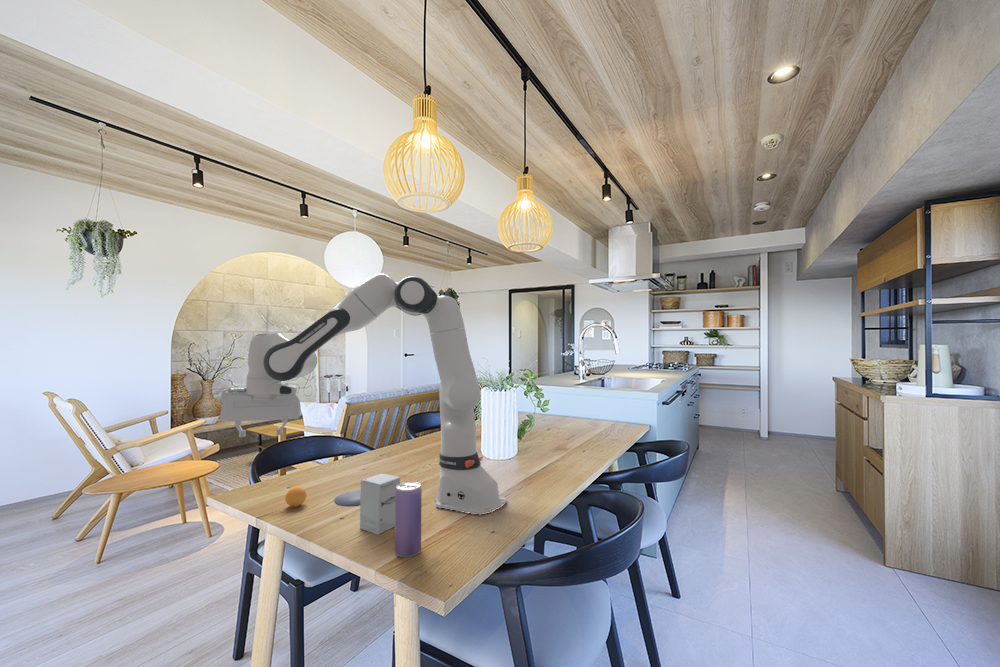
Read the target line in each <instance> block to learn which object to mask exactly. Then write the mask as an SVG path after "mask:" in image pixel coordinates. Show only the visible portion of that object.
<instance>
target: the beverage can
mask: <svg viewBox="0 0 1000 667" xmlns="http://www.w3.org/2000/svg"><path fill="white" fill-rule="evenodd" d="M422 491H423V490H422V485H421V483H420V482H417V481H407V482H406V481H405V482H400V484H398V485H397V486H396V491H395V527H394V553H395V554H396V555H397V557H399V558H411V557H415V556H416V555H418V554H419V553H420V551H421V549H422V506H423V505H422V504H423V503H422V500H423V498H422V493H423V492H422Z"/></svg>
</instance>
